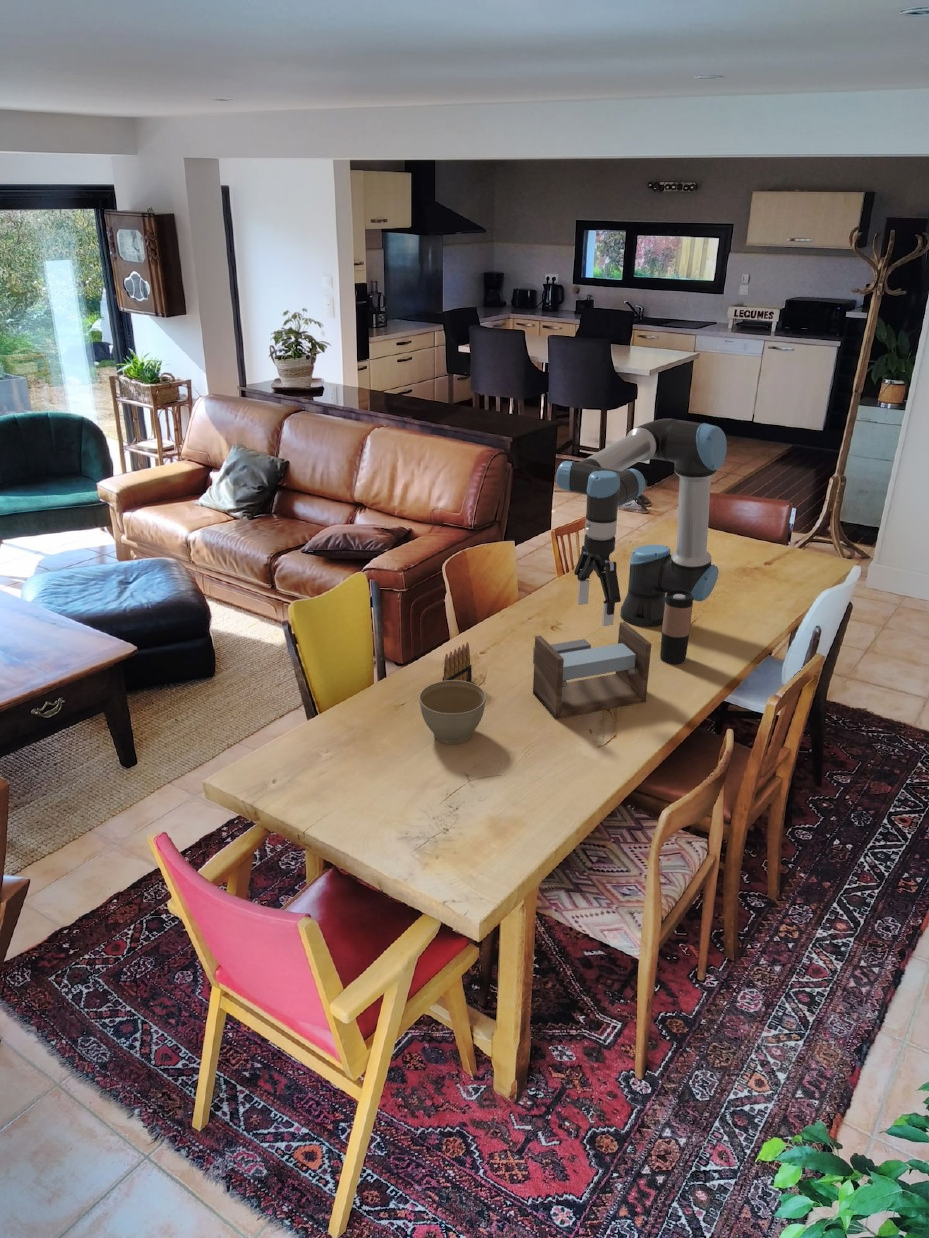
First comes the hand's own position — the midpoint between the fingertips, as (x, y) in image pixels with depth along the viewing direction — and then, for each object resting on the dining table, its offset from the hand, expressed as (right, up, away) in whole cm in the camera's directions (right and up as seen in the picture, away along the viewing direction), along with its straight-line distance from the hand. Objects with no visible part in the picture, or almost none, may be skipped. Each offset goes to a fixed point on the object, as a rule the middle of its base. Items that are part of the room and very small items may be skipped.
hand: (594, 614), depth 232 cm
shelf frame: (0, -22, +10) cm, 24 cm away
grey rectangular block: (-5, -13, +29) cm, 32 cm away
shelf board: (0, -14, +7) cm, 16 cm away
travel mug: (+27, -13, +31) cm, 43 cm away
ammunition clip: (-35, -20, +15) cm, 43 cm away
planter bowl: (-36, -30, -6) cm, 47 cm away
